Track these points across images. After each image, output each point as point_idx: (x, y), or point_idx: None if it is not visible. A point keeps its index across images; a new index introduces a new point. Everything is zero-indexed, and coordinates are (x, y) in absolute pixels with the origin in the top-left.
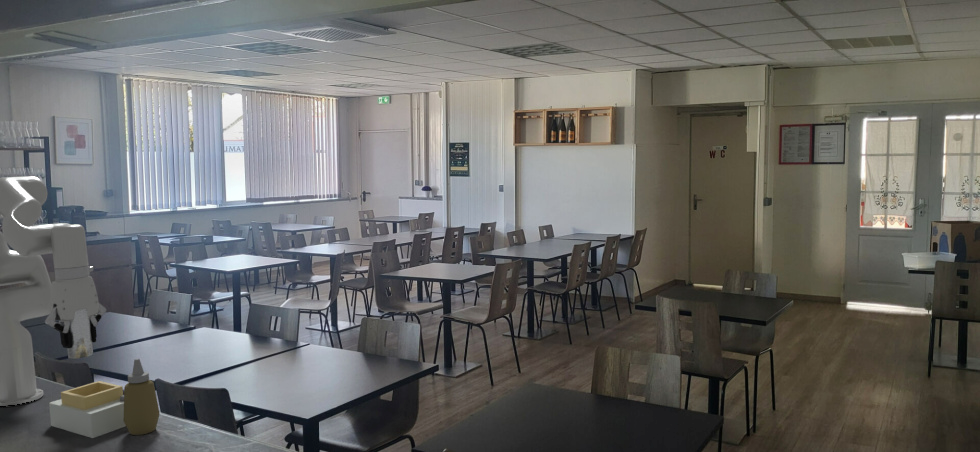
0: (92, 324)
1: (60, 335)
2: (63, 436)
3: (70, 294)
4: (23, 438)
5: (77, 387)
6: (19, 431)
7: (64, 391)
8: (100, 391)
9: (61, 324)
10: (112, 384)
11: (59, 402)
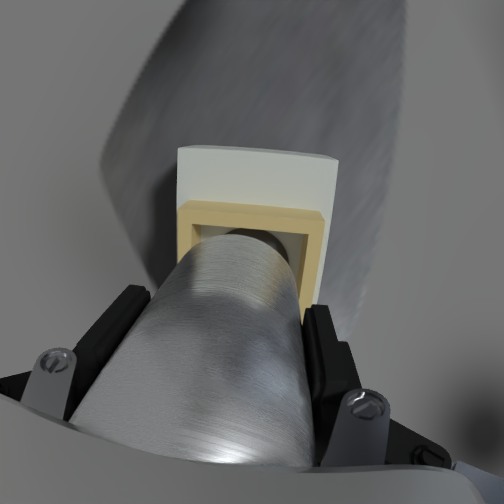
0: (318, 460)
1: (75, 348)
2: (170, 243)
3: None
4: (122, 167)
5: (237, 215)
6: (142, 109)
7: (188, 212)
8: (304, 235)
9: (45, 411)
10: (308, 302)
11: (193, 178)
